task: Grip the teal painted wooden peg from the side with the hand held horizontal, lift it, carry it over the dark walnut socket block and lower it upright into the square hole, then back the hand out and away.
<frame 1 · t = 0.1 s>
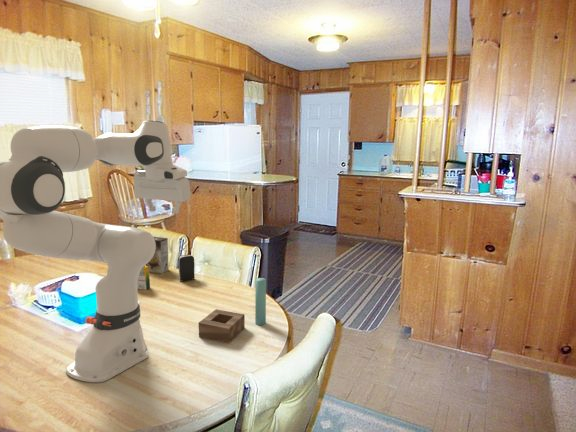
hand: (164, 212, 134), 39 cm above the table, tool pointing down, fingers open, 8 cm apart
crayon box: (141, 288, 171), on the table
socket block: (222, 332, 133), on the table
coffee box: (157, 271, 193), on the table
peg: (260, 323, 140), on the table
battery charger: (186, 279, 181), on the table
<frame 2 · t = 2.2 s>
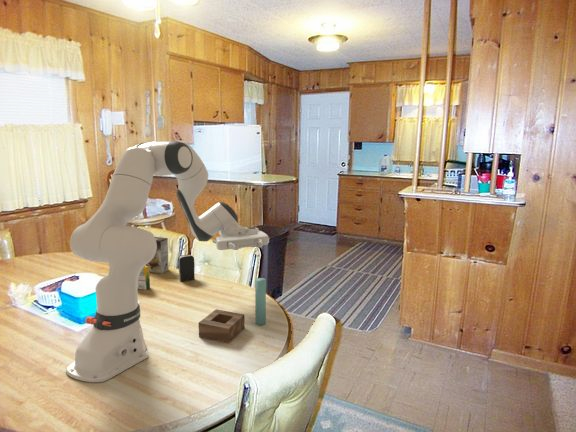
hand: (248, 246, 146), 25 cm above the table, tool horizontal, fingers open, 8 cm apart
nothing on the table moved.
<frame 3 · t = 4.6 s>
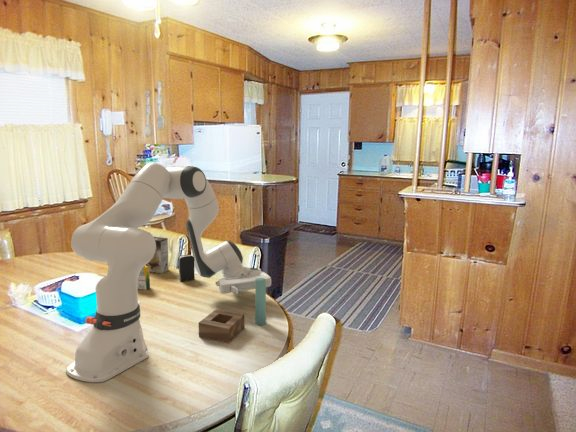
hand: (251, 290, 146), 9 cm above the table, tool horizontal, fingers open, 8 cm apart
nothing on the table moved.
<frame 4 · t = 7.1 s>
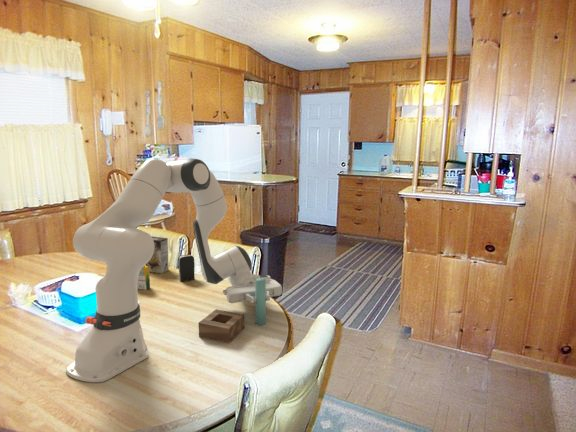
hand: (261, 299, 137), 9 cm above the table, tool horizontal, fingers closed on peg, 4 cm apart
peg: (260, 322, 140), on the table, touching gripper
everything else where it was.
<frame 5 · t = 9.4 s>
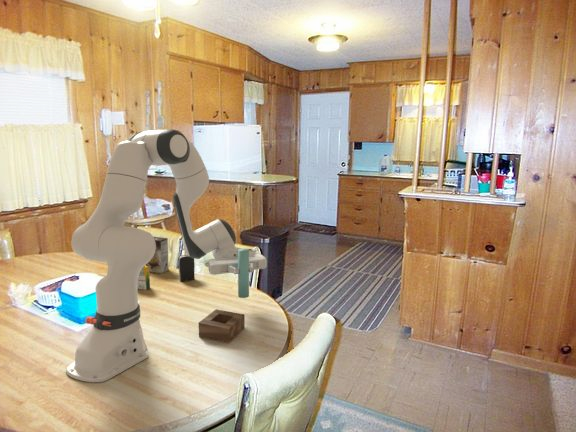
hand: (244, 271, 132), 21 cm above the table, tool horizontal, fingers closed on peg, 4 cm apart
peg: (243, 295, 134), point 12 cm above the table, touching gripper
everything else where it was.
when the fingers open (11 cm above the table, at t = 12.0 s): peg drops 1 cm, resting in socket block.
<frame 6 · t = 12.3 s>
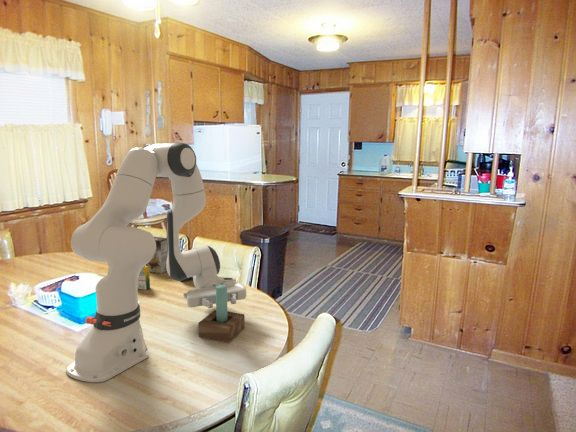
hand: (222, 303, 130), 11 cm above the table, tool horizontal, fingers open, 6 cm apart
peg: (222, 332, 133), resting in socket block
everything else where it was.
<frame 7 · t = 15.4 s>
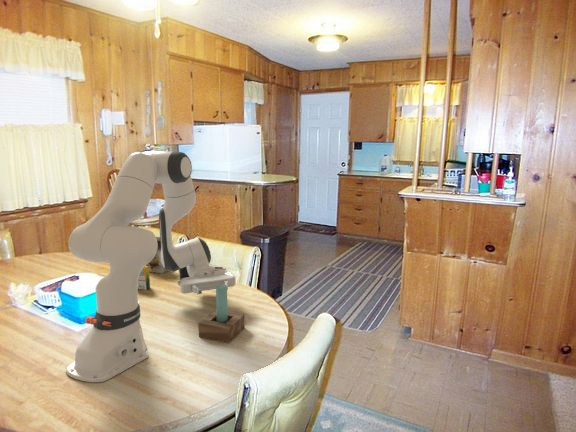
hand: (212, 290, 141), 11 cm above the table, tool horizontal, fingers open, 8 cm apart
nothing on the table moved.
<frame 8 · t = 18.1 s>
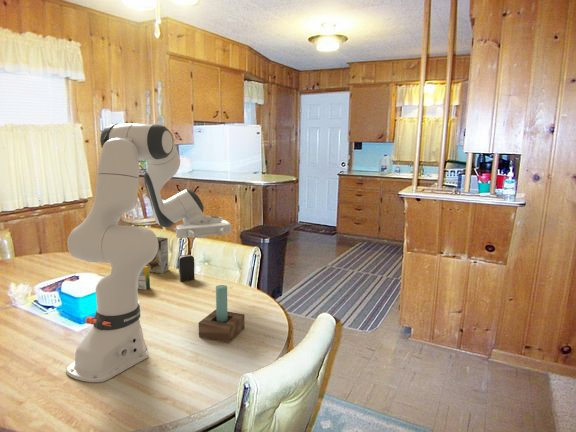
hand: (208, 234, 141), 30 cm above the table, tool horizontal, fingers open, 8 cm apart
nothing on the table moved.
at the end: peg 0.0 cm off-centre on the socket block, point 0.0 cm above the socket block's base; peg tilted 0°; the gripper is holding nothing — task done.
